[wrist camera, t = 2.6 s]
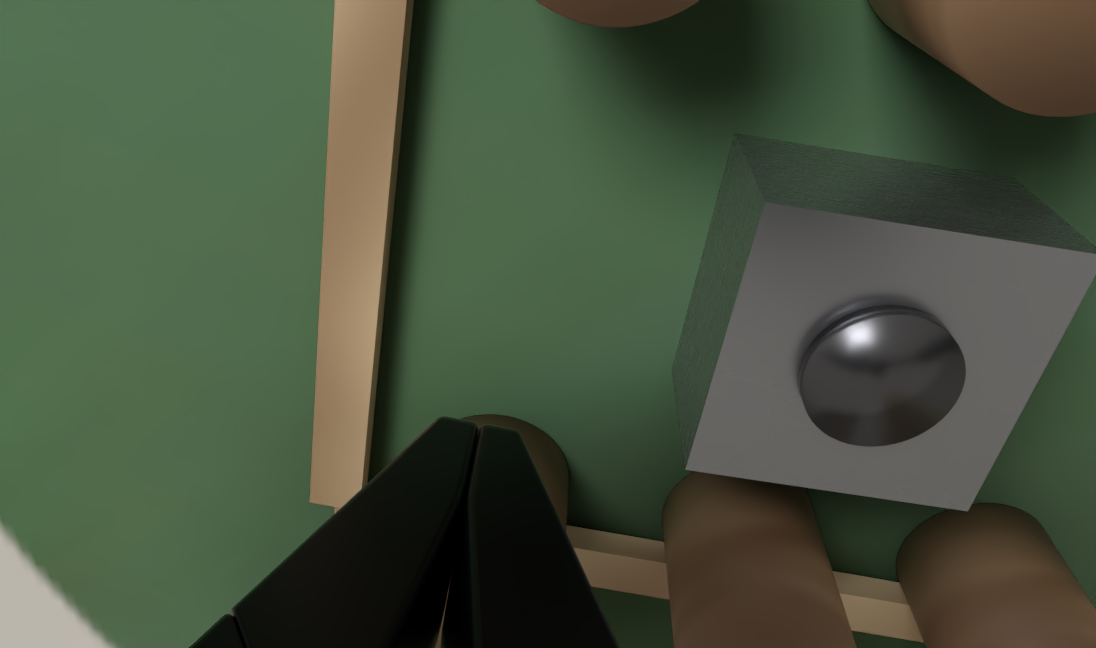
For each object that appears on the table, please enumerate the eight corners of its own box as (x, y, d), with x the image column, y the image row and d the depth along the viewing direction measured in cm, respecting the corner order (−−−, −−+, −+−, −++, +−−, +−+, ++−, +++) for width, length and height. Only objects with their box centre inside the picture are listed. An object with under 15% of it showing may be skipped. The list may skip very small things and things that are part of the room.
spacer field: (1554, -122, 11) (1922, -103, 8) (1018, 637, 18) (1100, 795, 15) (368, -388, 10) (270, -481, 7) (315, 517, 18) (259, 658, 15)
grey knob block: (1009, 174, 13) (1118, 265, 11) (907, 399, 16) (974, 525, 13) (732, 129, 13) (769, 211, 10) (670, 363, 16) (686, 482, 13)
